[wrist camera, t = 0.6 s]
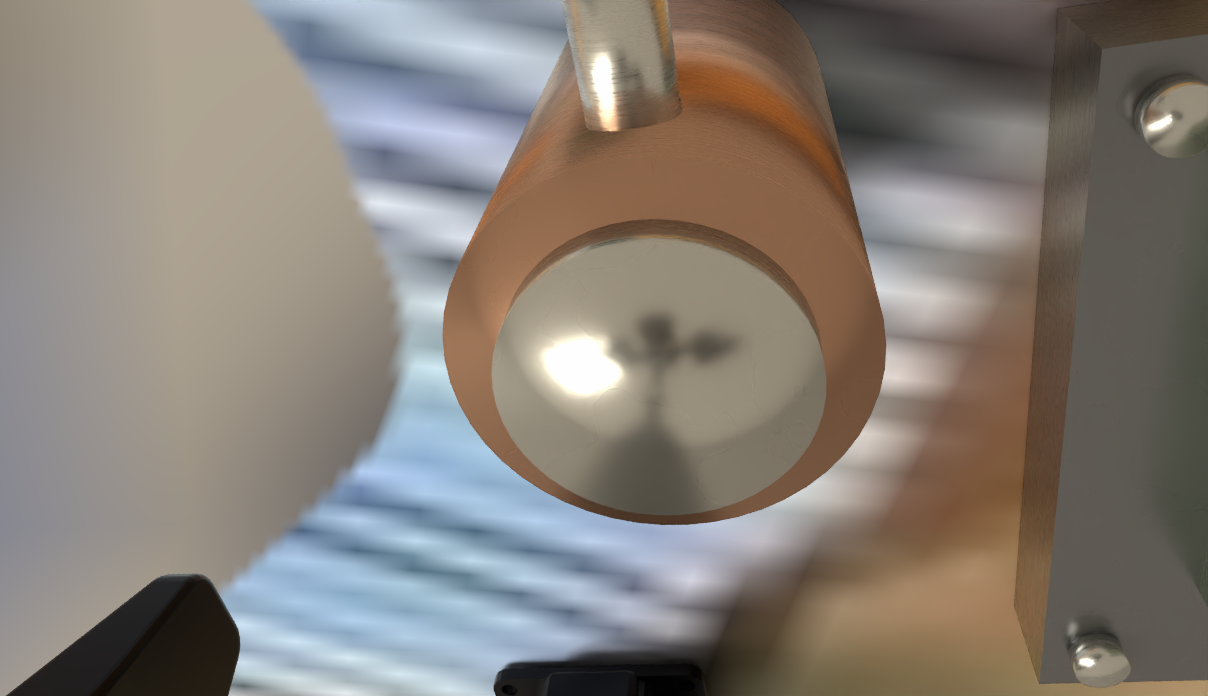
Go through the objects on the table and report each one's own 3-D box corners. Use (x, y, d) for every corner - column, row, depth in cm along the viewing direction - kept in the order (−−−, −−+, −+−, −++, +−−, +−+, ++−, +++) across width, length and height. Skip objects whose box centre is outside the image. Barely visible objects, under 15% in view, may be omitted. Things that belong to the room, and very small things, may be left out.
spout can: (830, 218, 20) (896, 545, 12) (579, 247, 21) (492, 565, 13) (809, -160, 16) (884, -37, 9) (504, -103, 18) (317, 53, 10)
